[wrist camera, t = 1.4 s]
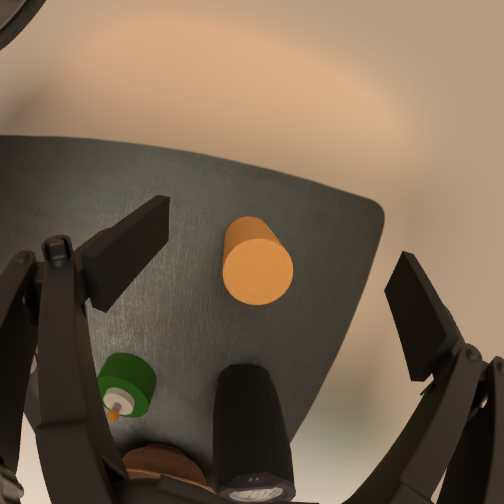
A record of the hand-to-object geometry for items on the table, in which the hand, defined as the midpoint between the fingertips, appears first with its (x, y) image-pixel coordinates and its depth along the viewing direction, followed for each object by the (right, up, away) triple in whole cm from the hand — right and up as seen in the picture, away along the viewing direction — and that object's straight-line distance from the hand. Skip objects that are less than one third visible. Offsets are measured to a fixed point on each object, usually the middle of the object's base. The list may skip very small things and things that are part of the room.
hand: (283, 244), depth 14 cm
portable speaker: (-3, -19, +23) cm, 30 cm away
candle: (-20, -19, +21) cm, 34 cm away
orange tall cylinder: (-2, +2, +17) cm, 17 cm away
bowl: (-19, -41, +27) cm, 53 cm away
